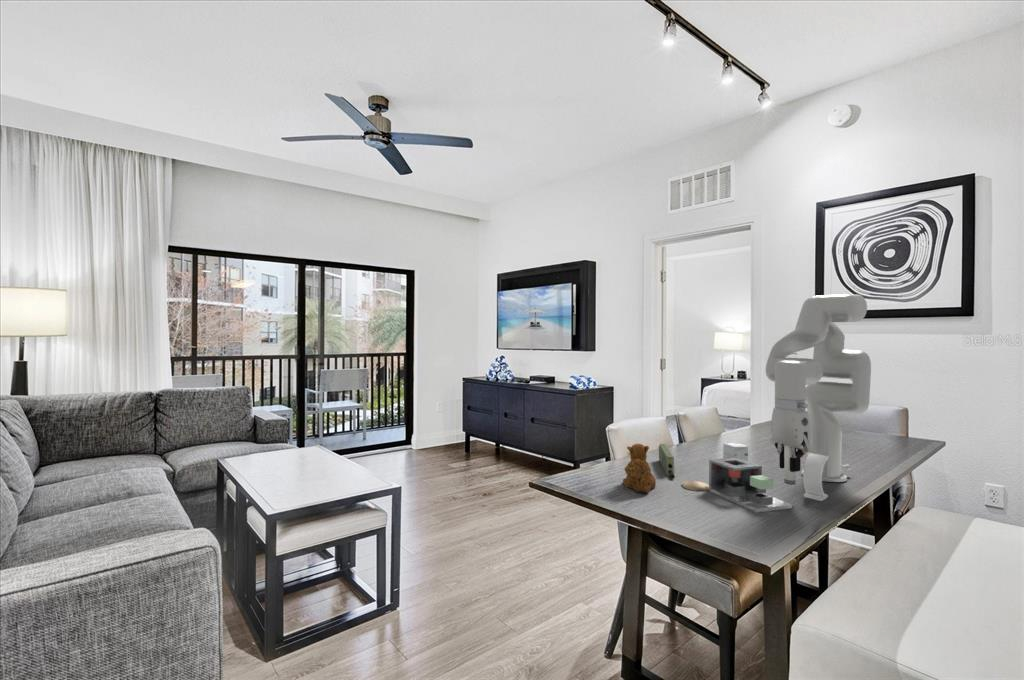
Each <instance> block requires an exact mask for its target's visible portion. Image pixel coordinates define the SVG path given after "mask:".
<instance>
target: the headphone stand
mask: <svg viewBox="0 0 1024 680" xmlns="http://www.w3.org/2000/svg"><path fill="white" fill-rule="evenodd" d="M827 460H828V456H824V455H819V454H813V453H810V454H809V455H808V457H806V459H805V462H804V467H803V469H804V471H803V475H802V482H803V489H804V490H805V493H803V497H804V498H808V499H811V500H815V501H820V502H822V501H824V500H826V499H828V498H829V497H828V496H829V495H828V494H826V493H825V492H824V489H823V481H822V473H823V468H824V465H825V462H826V461H827Z"/></svg>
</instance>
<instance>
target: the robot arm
mask: <svg viewBox="0 0 1024 680" xmlns="http://www.w3.org/2000/svg"><path fill="white" fill-rule="evenodd" d="M867 303H868V302H867V300H866V299H865V297H864V296H863V295H861V294H827V295H823V294H822V295H814V296H810V297H808V298H807V299H805V300H804V301H803V304H802V307H801V309H800V312H799V315H798V319H797V321H796V325H795V327H794V330H792V331H791V332H789V333H787V334H786V335H784V336H783V337H782V338H781V339H779V340H778V341H777V342H776V343H774V344H773V346H772V348H771V350H770V352H769V355H768V357H767V361H766V364H765V375H766V377H767V378H768V380H769V381H771V382H773V383H774V407H773V409H772V414H771V421H770V422H771V423H770V439H769V442H770V443H771V444H773V445H774V447H775V448H776V449H777V450H776V451H777V454H779V469H784V445H788V446H791V454H792V457H790V471H791V472H796V473H797V472H800V471H801V475H802V476H803V471H804V468H803V469H801V462H802V461H801V458H803V456H804V455H805V454H807V457H808V455H809V454H810V453H813V454H819V455H824V456H828V460H827V461H826V462H825V465H824V468H823V473H822V482H827V483H828V482H829V483H843V482H847V480H848V477H847V475H846V474H844V472H847V471H851V469H852V466H851V465H850V464H843V463H842V449H843V447H842V445H843V444H842V443H843V442H842V439H843V427H842V424H841V421H840V419H839V418H838V417H837V415H835V413H844V414H845V413H846V414H855V415H857V414H858V415H861V414H864V413H866V412H867V411H868V409H869V406H870V398H871V397H870V395H871V394H870V393H871V379H872V378H871V377H872V374H871V373H872V361H871V358H870V356H869V354H868V353H867V352H866V351H863V350H857V349H845V339H846V338H845V334H844V332H843V331H842V330H841V328H840V327H839V326H838V325H837V324H836V323H854V322H860V321H862V320H863V319H864V318H865V317H866V314H867V312H868V304H867ZM812 348H813V353H812V358H807V357H806V358H802V357H801V358H798V357H789V356H790V355H792V354H795V353H797V352H801V351H805V350H808V349H812ZM822 378H825V379H840V380H850V381H852V383H847V382H839V381H838V382H837V381H820V380H821V379H822ZM806 385H807V386H806ZM807 457H806V458H807Z"/></svg>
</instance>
